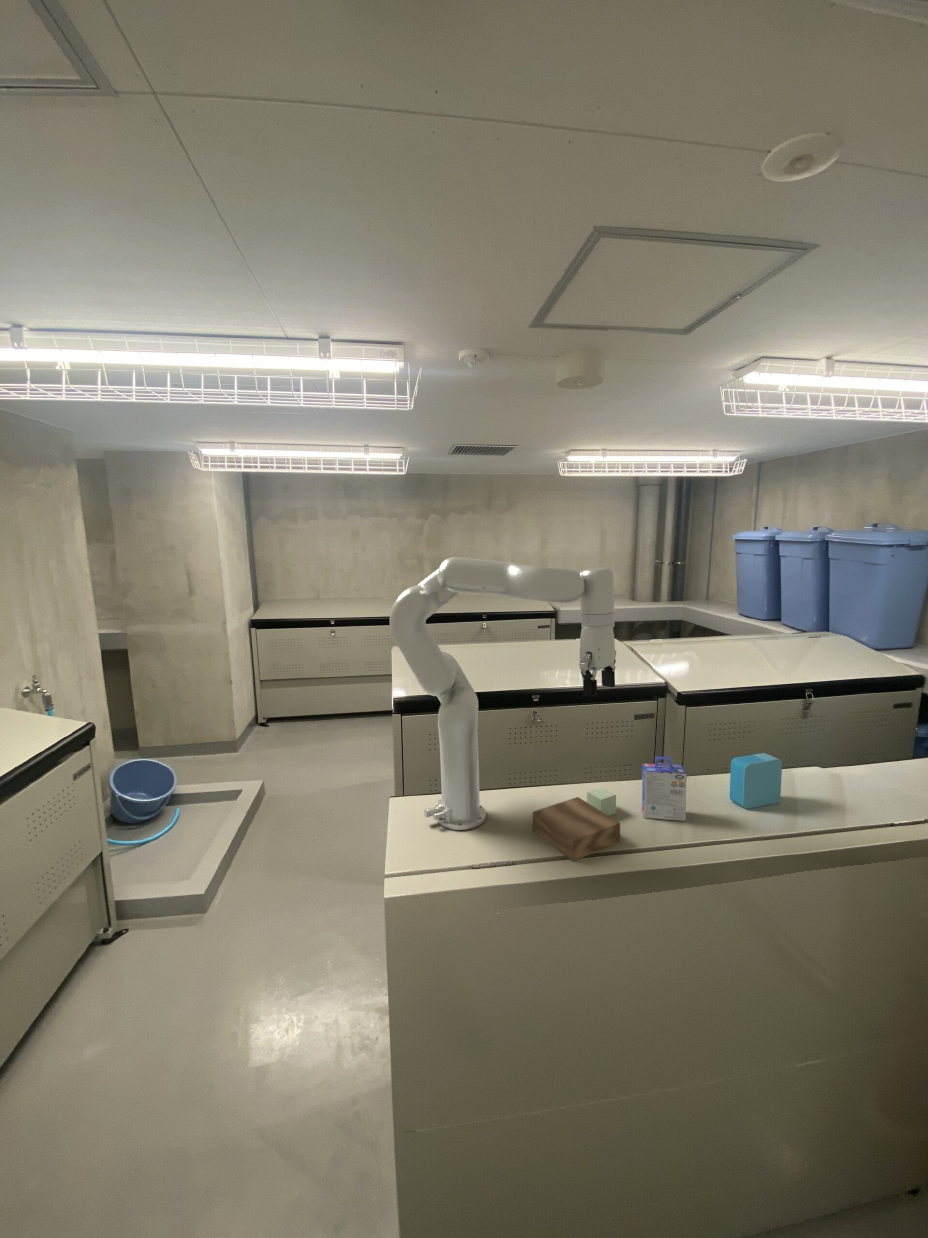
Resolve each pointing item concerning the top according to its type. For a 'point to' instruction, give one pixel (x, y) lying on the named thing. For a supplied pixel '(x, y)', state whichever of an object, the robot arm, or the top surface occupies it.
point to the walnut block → (576, 828)
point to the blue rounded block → (755, 780)
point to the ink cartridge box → (664, 790)
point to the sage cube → (602, 800)
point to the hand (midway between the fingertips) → (599, 691)
